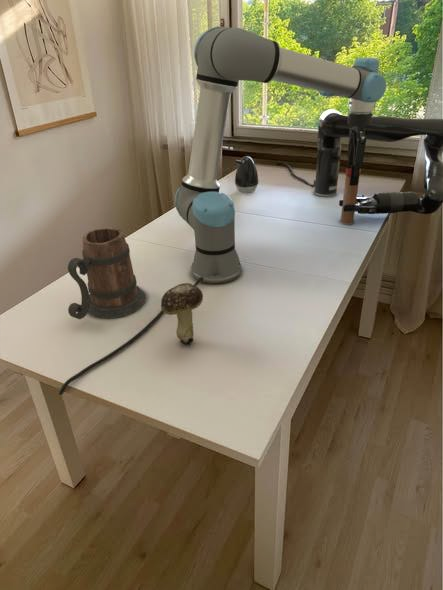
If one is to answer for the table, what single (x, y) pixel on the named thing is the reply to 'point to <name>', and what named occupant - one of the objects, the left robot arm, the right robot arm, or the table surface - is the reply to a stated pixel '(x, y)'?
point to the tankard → (105, 276)
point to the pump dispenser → (246, 175)
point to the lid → (349, 172)
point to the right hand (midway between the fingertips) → (341, 205)
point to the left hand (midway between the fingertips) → (351, 182)
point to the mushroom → (182, 308)
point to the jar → (349, 201)
